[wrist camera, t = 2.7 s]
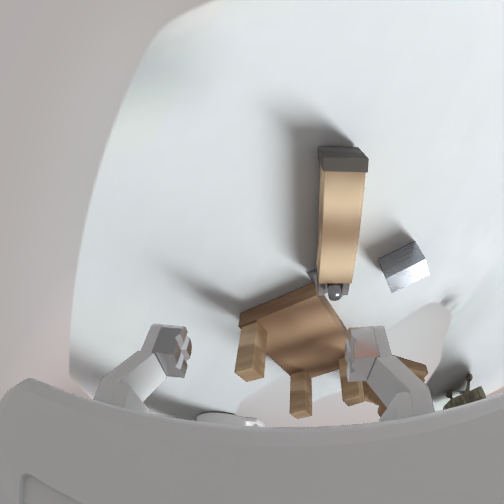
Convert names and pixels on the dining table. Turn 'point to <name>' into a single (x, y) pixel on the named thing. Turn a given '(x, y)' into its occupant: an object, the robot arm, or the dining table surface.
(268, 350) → the stool seat
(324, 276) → the hinged leg
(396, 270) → the block
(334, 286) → the hinge bracket
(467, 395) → the tabletop clock
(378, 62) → the dining table surface
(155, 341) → the robot arm
